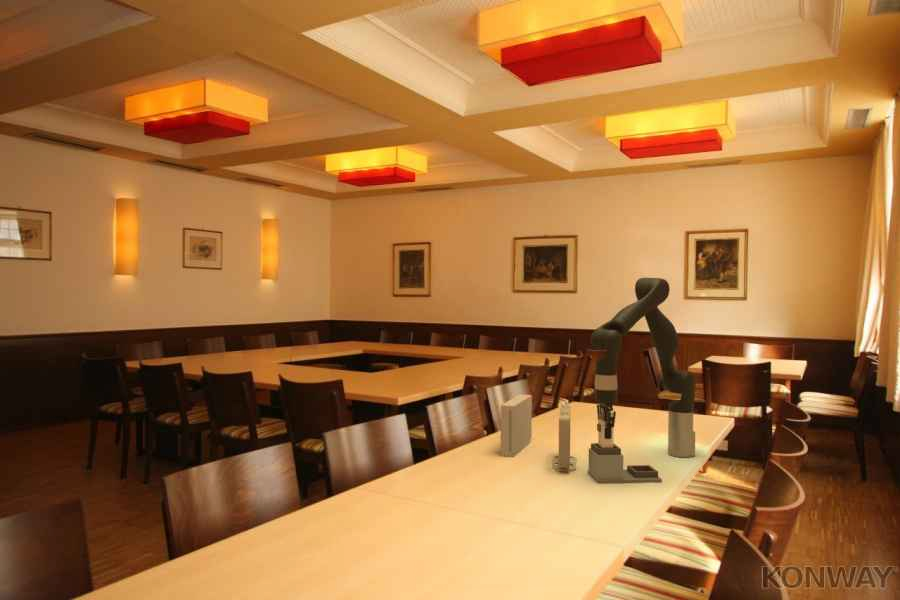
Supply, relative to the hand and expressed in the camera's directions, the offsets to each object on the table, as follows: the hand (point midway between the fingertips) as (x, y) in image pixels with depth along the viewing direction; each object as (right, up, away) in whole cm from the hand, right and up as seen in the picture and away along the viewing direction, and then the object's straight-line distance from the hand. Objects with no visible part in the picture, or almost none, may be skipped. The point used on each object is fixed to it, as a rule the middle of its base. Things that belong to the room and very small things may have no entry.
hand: (605, 436), depth 215 cm
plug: (0, -3, 0) cm, 3 cm away
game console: (-27, -14, +40) cm, 50 cm away
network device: (-11, -14, +18) cm, 25 cm away
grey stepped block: (+6, -14, +1) cm, 16 cm away
